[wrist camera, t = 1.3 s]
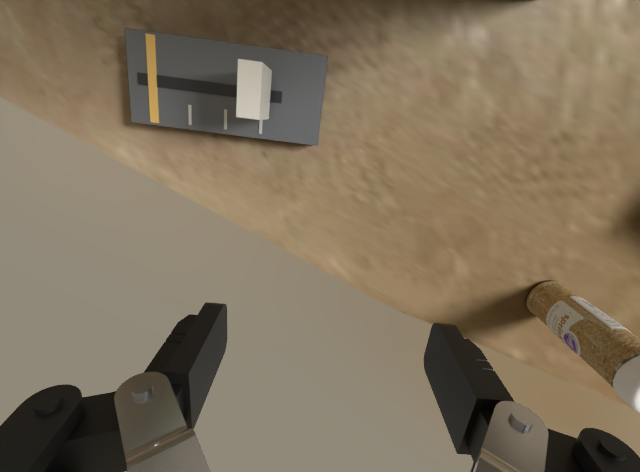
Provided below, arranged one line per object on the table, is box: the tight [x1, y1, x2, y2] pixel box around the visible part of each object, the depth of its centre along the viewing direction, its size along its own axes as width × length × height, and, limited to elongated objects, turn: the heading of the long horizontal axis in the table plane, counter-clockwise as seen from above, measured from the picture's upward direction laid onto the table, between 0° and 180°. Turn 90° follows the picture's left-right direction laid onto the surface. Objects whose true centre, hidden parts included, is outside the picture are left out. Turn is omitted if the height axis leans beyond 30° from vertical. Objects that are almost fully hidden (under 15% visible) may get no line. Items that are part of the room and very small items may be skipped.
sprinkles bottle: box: [527, 281, 640, 413], centre depth 30 cm, size 5×5×14 cm
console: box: [125, 28, 328, 146], centre depth 28 cm, size 7×16×2 cm, turn 83°
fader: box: [236, 59, 272, 120], centre depth 24 cm, size 4×2×5 cm, turn 173°
